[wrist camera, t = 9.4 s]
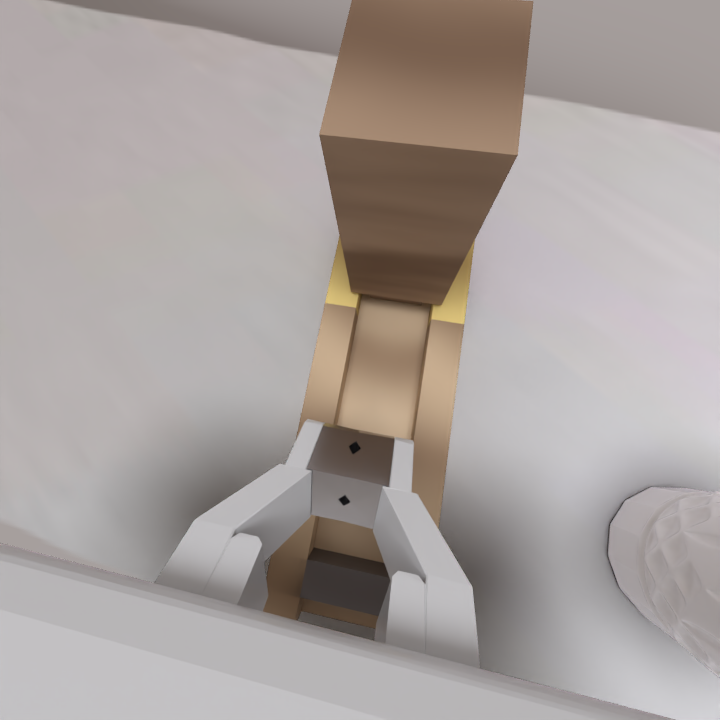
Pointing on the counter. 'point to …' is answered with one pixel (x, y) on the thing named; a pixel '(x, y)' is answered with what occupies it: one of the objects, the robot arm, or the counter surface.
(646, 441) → the counter surface
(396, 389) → the beam
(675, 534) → the white cup
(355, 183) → the plate
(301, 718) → the robot arm
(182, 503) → the counter surface
